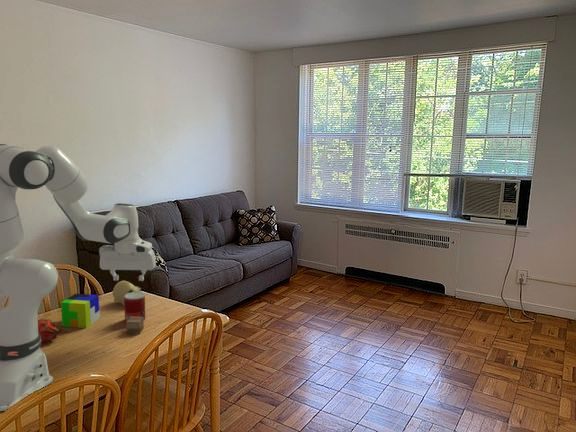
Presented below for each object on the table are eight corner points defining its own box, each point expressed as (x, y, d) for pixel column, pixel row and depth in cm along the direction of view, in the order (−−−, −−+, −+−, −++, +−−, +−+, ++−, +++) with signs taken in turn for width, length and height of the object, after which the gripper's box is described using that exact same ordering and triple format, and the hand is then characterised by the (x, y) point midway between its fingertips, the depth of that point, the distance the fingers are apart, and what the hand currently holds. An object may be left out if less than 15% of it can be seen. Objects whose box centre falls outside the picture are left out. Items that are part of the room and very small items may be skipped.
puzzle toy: (99, 317, 183) (98, 295, 181) (86, 328, 173) (85, 304, 171) (76, 316, 183) (75, 293, 182) (62, 326, 174) (60, 302, 172)
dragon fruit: (35, 339, 166) (58, 350, 161) (18, 334, 158) (42, 345, 154) (48, 317, 169) (71, 328, 164) (32, 312, 161) (55, 322, 157)
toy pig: (130, 309, 192) (130, 286, 190) (108, 305, 196) (107, 282, 194) (145, 302, 201) (144, 279, 199) (123, 298, 205) (122, 276, 203)
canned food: (146, 322, 179) (145, 297, 177) (125, 325, 176) (124, 299, 174) (144, 315, 186) (144, 290, 184) (124, 317, 183) (123, 292, 181)
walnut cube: (140, 334, 169) (139, 321, 168) (126, 333, 169) (126, 321, 168) (143, 328, 174) (143, 316, 173) (130, 328, 174) (130, 316, 173)
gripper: (95, 247, 161) (98, 283, 164) (152, 248, 162) (153, 283, 165) (101, 242, 167) (104, 277, 170) (156, 243, 168) (157, 277, 171)
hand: (128, 280), depth 168 cm, fingers open, 8 cm apart
